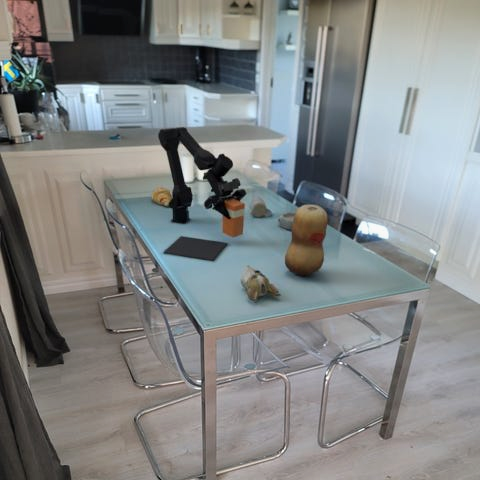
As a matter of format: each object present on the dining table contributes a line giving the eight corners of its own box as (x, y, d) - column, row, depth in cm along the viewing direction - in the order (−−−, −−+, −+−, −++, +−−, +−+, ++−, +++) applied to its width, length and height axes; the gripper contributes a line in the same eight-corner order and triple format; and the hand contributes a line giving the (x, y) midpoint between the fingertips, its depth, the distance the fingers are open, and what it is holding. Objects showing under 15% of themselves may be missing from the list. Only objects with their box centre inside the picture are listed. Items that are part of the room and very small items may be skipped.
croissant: (174, 214, 231) (181, 199, 229) (156, 206, 225) (163, 191, 223) (160, 200, 247) (166, 186, 245) (143, 193, 241) (149, 179, 238)
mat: (163, 253, 181) (163, 251, 181) (181, 237, 196) (181, 236, 196) (212, 261, 177) (212, 259, 177) (227, 244, 192) (227, 242, 192)
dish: (316, 227, 214) (317, 216, 212) (297, 234, 205) (298, 223, 203) (290, 218, 223) (291, 208, 220) (272, 225, 214) (273, 214, 211)
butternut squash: (295, 284, 163) (303, 214, 150) (277, 269, 173) (283, 202, 160) (329, 279, 168) (339, 211, 155) (309, 264, 178) (318, 199, 166)
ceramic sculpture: (261, 258, 159) (284, 279, 148) (259, 281, 164) (281, 302, 153) (233, 263, 155) (254, 285, 144) (232, 286, 160) (252, 309, 149)
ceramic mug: (251, 218, 221) (252, 202, 217) (248, 212, 228) (249, 196, 224) (273, 218, 222) (275, 202, 218) (269, 212, 229) (271, 197, 225)
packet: (221, 232, 192) (223, 201, 184) (231, 229, 195) (233, 198, 188) (232, 237, 188) (234, 206, 181) (242, 234, 191) (244, 203, 184)
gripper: (209, 175, 176) (228, 211, 175) (244, 168, 187) (262, 202, 186) (195, 191, 184) (213, 226, 184) (230, 183, 196) (247, 216, 195)
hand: (235, 217), depth 187 cm, fingers closed on packet, 5 cm apart
